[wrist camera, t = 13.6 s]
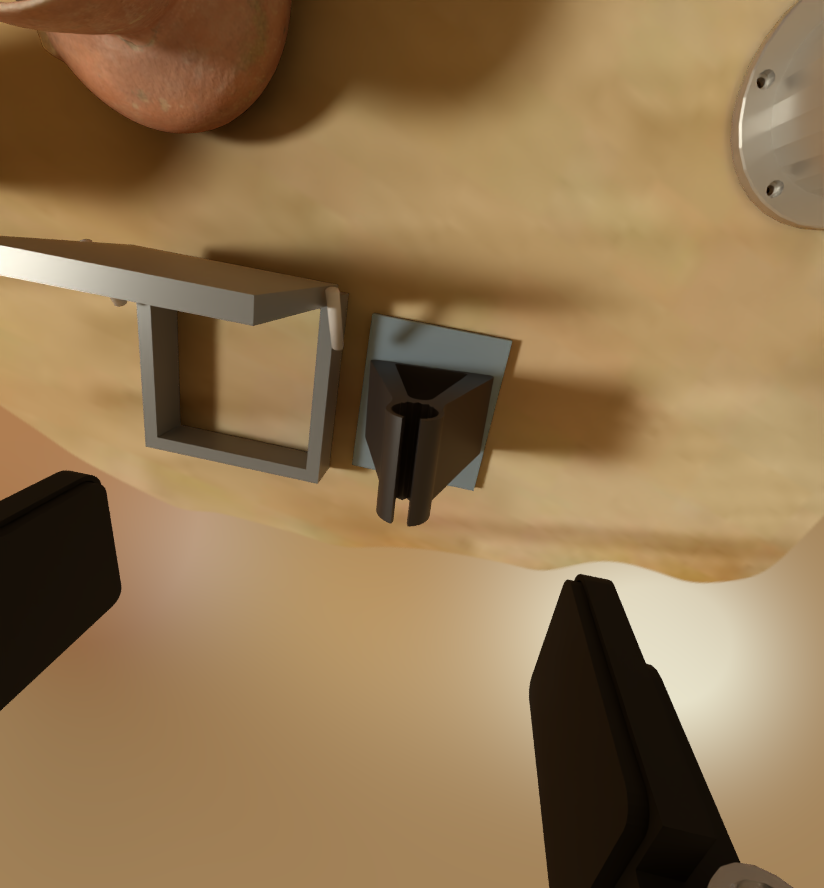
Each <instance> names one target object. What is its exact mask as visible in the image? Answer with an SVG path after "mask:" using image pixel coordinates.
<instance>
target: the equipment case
mask: <svg viewBox="0 0 824 888" xmlns="http://www.w3.org/2000/svg"><path fill="white" fill-rule="evenodd" d="M0 275H2V276H7V277H12V278H17V279H22V280H27V281H32V282H37V283H42V284H47V285H52V286H57V287H62V288H67V289H72V290H77V291H82V292H87V293H92V294H97V295H102V296H107V297H110V298H111V300H112V301H113V303H114V305H115V306H123V305H125V304H126V303H127V301H132V302H136V303H137V318H138V334H139V349H140V365H141V380H142V396H143V411H144V427H145V442H146V447H151V448H155V449H160V450H165V451H169V452H174V453H178V454H183V455H188V456H192V457H197V458H201V459H206V460H211V461H215V462H220V463H225V464H229V465H234V466H238V467H243V468H248V469H252V470H257V471H261V472H266V473H271V474H275V475H280V476H284V477H289V478H294V479H298V480H303V481H307V482H312V483H317V484H318V483H319V481H320V480H321V478H322V477H323V476H324V474H325V473H326V471H327V470H328V469H329V465H330V456H331V447H332V438H333V429H334V420H335V412H336V403H337V394H338V385H339V376H340V367H341V358H342V349H343V348H344V341H343V340H344V332H345V323H346V314H347V305H348V296H349V293H344V292H339V289H338V284H332V283H327V282H322V281H317V280H312V279H307V278H301V277H296V276H291V275H286V274H281V273H276V272H270V271H265V270H260V269H255V268H250V267H245V266H239V265H234V264H229V263H224V262H219V261H214V260H208V259H203V258H198V257H193V256H188V255H183V254H177V253H172V252H167V251H162V250H157V249H152V248H146V247H141V246H136V245H127V244H113V243H98V242H92V240H90V239H83V240H80V241H68V240H54V239H39V238H24V237H9V236H0ZM318 308H320V309H321V311H320V323H319V334H318V345H317V356H316V367H315V378H314V389H313V400H312V411H311V422H310V433H309V444H308V452H305V451H301V450H296V449H291V448H287V447H282V446H277V445H273V444H268V443H263V442H259V441H254V440H249V439H245V438H240V437H235V436H231V435H226V434H221V433H216V432H212V431H207V430H202V429H198V428H193V427H188V426H184V425H181V424H180V392H179V359H178V327H177V311H181V312H186V313H191V314H196V315H201V316H206V317H211V318H216V319H221V320H226V321H231V322H236V323H241V324H246V325H251V326H254V325H258V324H262V323H266V322H269V321H273V320H277V319H281V318H285V317H288V316H292V315H296V314H300V313H303V312H307V311H311V310H315V309H318Z"/></svg>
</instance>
